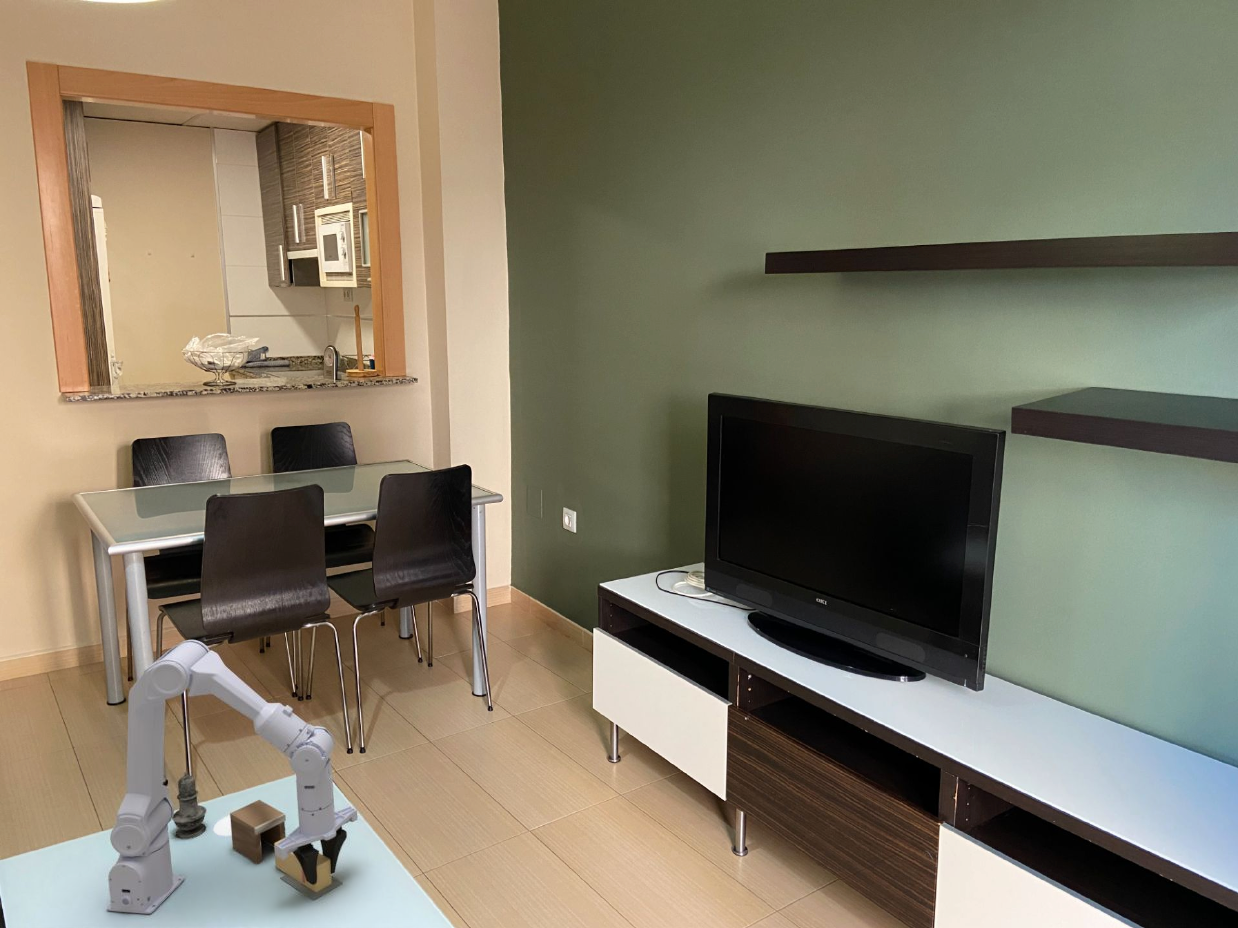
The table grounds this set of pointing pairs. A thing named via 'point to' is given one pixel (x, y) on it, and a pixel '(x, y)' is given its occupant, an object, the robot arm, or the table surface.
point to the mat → (308, 891)
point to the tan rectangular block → (296, 871)
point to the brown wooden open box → (256, 829)
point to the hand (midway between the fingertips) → (320, 876)
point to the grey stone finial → (188, 810)
